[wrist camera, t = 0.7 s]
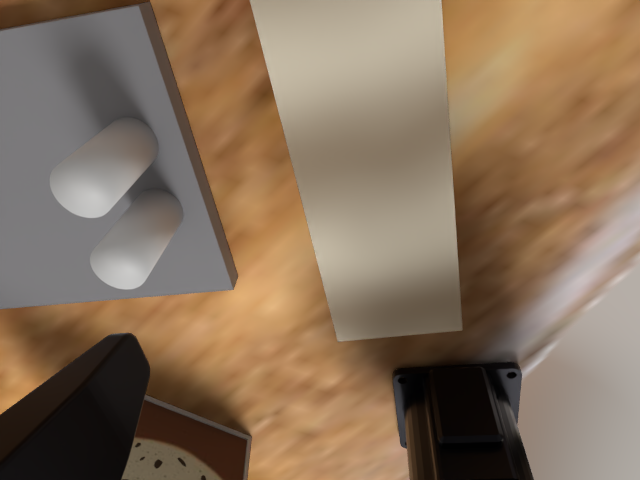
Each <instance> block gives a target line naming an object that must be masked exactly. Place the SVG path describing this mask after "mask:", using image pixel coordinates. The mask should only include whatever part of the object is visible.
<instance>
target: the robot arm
mask: <svg viewBox="0 0 640 480" xmlns="http://www.w3.org/2000/svg"><path fill="white" fill-rule="evenodd" d="M509 372H510V373H509ZM149 377H150V366H149V363H148V360H147V358H146V356H145V354H144V352H143V350H142V348H141V346H140V344H139V342H138V340H137V338H136V336H134V335H133V334H131V333H119V334H111V335H108V336H107V337H105V338H104V339H103V340H101V341H100V342H99V343H97V344H96V345H94V346H93V347H92V348H90V349H89V350H88V351H86V352H85V353H84V354H82V355H81V356H80V357H78V358H77V359H75V360H74V361H73V362H71V363H70V364H69V365H67V366H66V367H65V368H63V369H62V370H60V371H59V372H58V373H56V374H55V375H54V376H52V377H51V378H50V379H48V380H47V381H46V382H44V383H43V384H41V385H40V386H39V387H37V388H36V389H35V390H33V391H32V392H31V393H29V394H28V395H26V396H25V397H24V398H22V399H21V400H20V401H18V402H17V403H16V404H14V405H13V406H12V407H10V408H9V409H7V410H6V411H5V412H3V413H2V414H1V415H0V480H121V479H122V476H123V474H124V471H125V468H126V465H127V462H128V459H129V456H130V452H131V449H132V445H133V442H134V438H135V434H136V430H137V426H138V422H139V418H140V414H141V410H142V406H143V402H144V398H145V394H146V390H147V386H148V382H149ZM402 377H403V378H402ZM521 379H522V373H521V370H520V367H519V366H518V365H517V364H516V363H492V364H474V365H455V366H436V367H418V368H401V369H397V370H395V371H394V372H393V386H394V394H395V403H396V411H397V419H398V428H399V436H400V444H401V446H402V447H403V448H406V449H407V454H408V466H409V478H410V480H534V479H533V475H532V472H531V469H530V465H529V462H528V459H527V456H526V453H525V449H524V446H523V443H522V440H521V436H520V433H519V430H518V427H517V422H518V411H519V400H520V390H521Z"/></svg>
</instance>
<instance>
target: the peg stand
mask: <svg viewBox="0 0 640 480" xmlns="http://www.w3.org/2000/svg"><path fill="white" fill-rule="evenodd" d="M237 279H238V274H237V271H236V268H235V265H234V262H233V259H232V256H231V253H230V249H229V246H228V243H227V240H226V237H225V234H224V231H223V228H222V225H221V221H220V218H219V215H218V212H217V209H216V206H215V203H214V200H213V197H212V193H211V190H210V187H209V184H208V181H207V178H206V175H205V172H204V169H203V165H202V162H201V159H200V156H199V153H198V150H197V147H196V144H195V141H194V137H193V134H192V131H191V128H190V125H189V122H188V119H187V116H186V113H185V109H184V106H183V103H182V100H181V97H180V94H179V91H178V88H177V85H176V81H175V78H174V75H173V72H172V69H171V66H170V63H169V60H168V57H167V53H166V50H165V47H164V44H163V41H162V38H161V35H160V32H159V29H158V25H157V22H156V19H155V16H154V13H153V10H152V7H151V4H150V2H146V3H140V4H135V5H129V6H124V7H118V8H113V9H108V10H102V11H97V12H91V13H86V14H80V15H75V16H70V17H64V18H59V19H53V20H48V21H42V22H37V23H32V24H26V25H21V26H15V27H10V28H4V29H0V309H7V308H20V307H32V306H44V305H56V304H68V303H80V302H92V301H104V300H116V299H128V298H140V297H152V296H165V295H177V294H189V293H201V292H213V291H225V290H234V287H235V284H236V281H237Z"/></svg>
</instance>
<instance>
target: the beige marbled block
mask: <svg viewBox="0 0 640 480" xmlns="http://www.w3.org/2000/svg"><path fill="white" fill-rule="evenodd" d="M250 3H251V7H252V11H253V15H254V18H255V22H256V26H257V30H258V34H259V38H260V42H261V46H262V49H263V53H264V57H265V61H266V65H267V69H268V73H269V77H270V81H271V84H272V88H273V92H274V96H275V100H276V104H277V108H278V112H279V115H280V119H281V123H282V127H283V131H284V135H285V139H286V143H287V146H288V150H289V154H290V158H291V162H292V166H293V170H294V174H295V177H296V181H297V185H298V189H299V193H300V197H301V201H302V205H303V208H304V212H305V216H306V220H307V224H308V228H309V232H310V236H311V239H312V243H313V247H314V251H315V255H316V259H317V263H318V267H319V271H320V274H321V278H322V282H323V286H324V290H325V294H326V298H327V302H328V305H329V309H330V313H331V317H332V321H333V325H334V329H335V333H336V336H337V340H338V342H341V341H352V340H363V339H374V338H385V337H396V336H407V335H418V334H428V333H439V332H450V331H461V330H463V329H462V313H461V298H460V282H459V266H458V251H457V235H456V220H455V204H454V189H453V173H452V157H451V142H450V126H449V111H448V95H447V79H446V64H445V48H444V33H443V17H442V2H441V0H250Z"/></svg>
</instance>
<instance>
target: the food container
mask: <svg viewBox="0 0 640 480" xmlns="http://www.w3.org/2000/svg"><path fill="white" fill-rule="evenodd" d="M251 441H252V437H251V436H248V435H246V434H243V433H241V432H238V431H236V430H233V429H231V428H228V427H226V426H223V425H221V424H218V423H216V422H213V421H211V420H208V419H205V418H203V417H200V416H198V415H195V414H193V413H190V412H188V411H185V410H183V409H180V408H178V407H175V406H173V405H170V404H168V403H165V402H162V401H160V400H157V399H155V398H152V397H150V396H147V395H145V398H144V402H143V406H142V410H141V414H140V418H139V422H138V426H137V430H136V434H135V438H134V442H133V445H132V449H131V452H130V456H129V459H128V462H127V465H126V468H125V471H124V474H123V476H122V479H121V480H247V478H248V469H249V459H250V450H251Z"/></svg>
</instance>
